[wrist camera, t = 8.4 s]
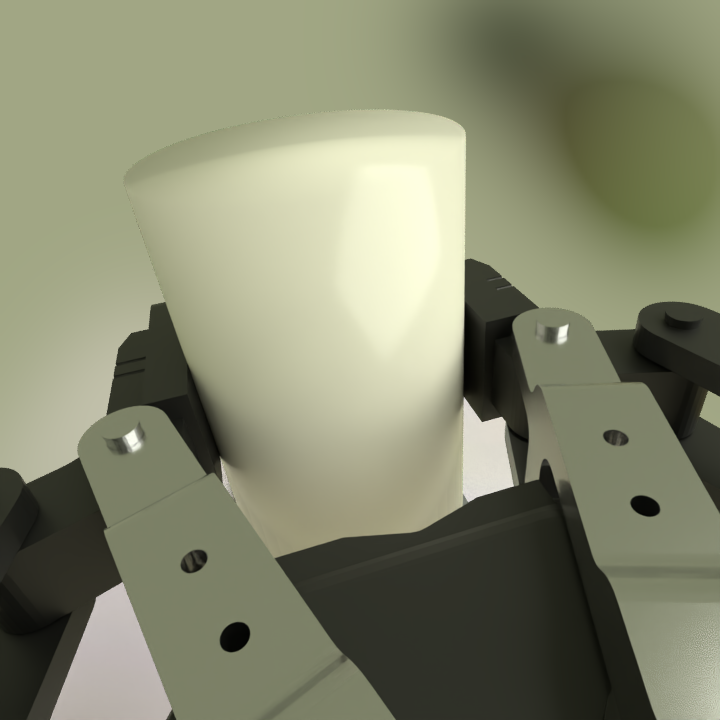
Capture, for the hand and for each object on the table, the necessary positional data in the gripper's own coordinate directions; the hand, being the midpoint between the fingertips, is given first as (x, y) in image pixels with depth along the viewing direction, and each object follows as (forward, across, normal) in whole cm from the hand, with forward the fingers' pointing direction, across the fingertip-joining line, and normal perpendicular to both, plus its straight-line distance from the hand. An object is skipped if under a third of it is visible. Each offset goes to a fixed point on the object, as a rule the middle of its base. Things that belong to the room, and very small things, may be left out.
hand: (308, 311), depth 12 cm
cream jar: (-2, 0, +6) cm, 6 cm away
